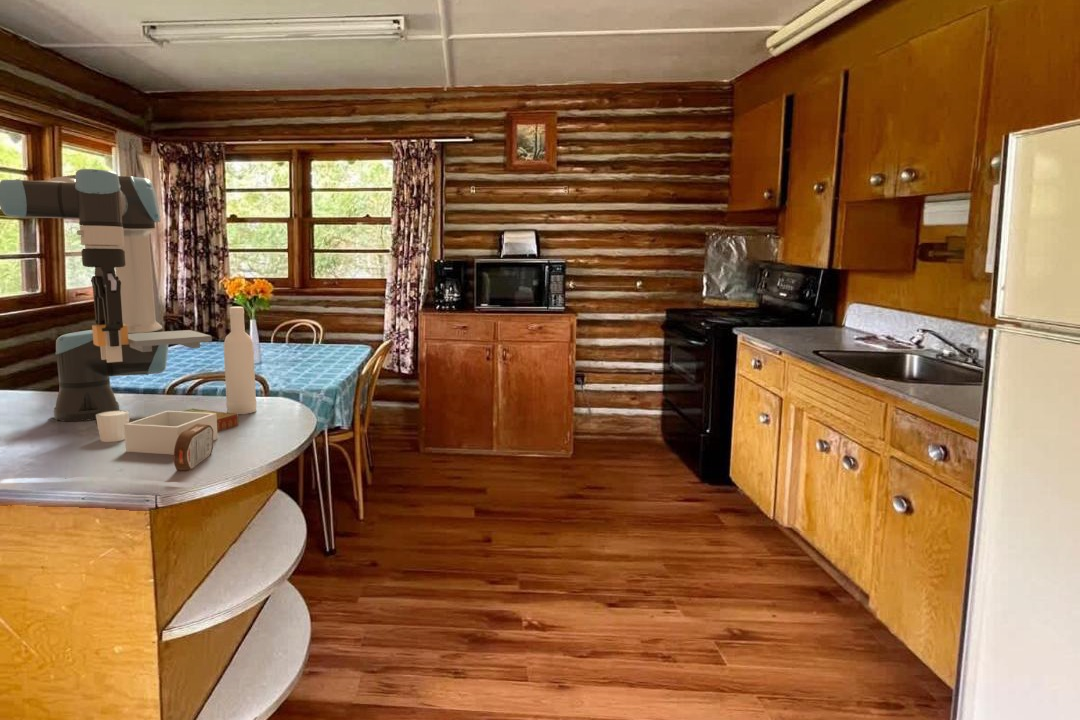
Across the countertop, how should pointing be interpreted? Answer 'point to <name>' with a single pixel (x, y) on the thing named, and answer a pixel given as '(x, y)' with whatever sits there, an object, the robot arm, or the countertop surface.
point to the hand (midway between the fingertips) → (111, 360)
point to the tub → (164, 430)
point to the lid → (152, 338)
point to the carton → (221, 418)
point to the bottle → (239, 366)
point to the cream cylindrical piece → (112, 425)
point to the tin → (193, 446)
